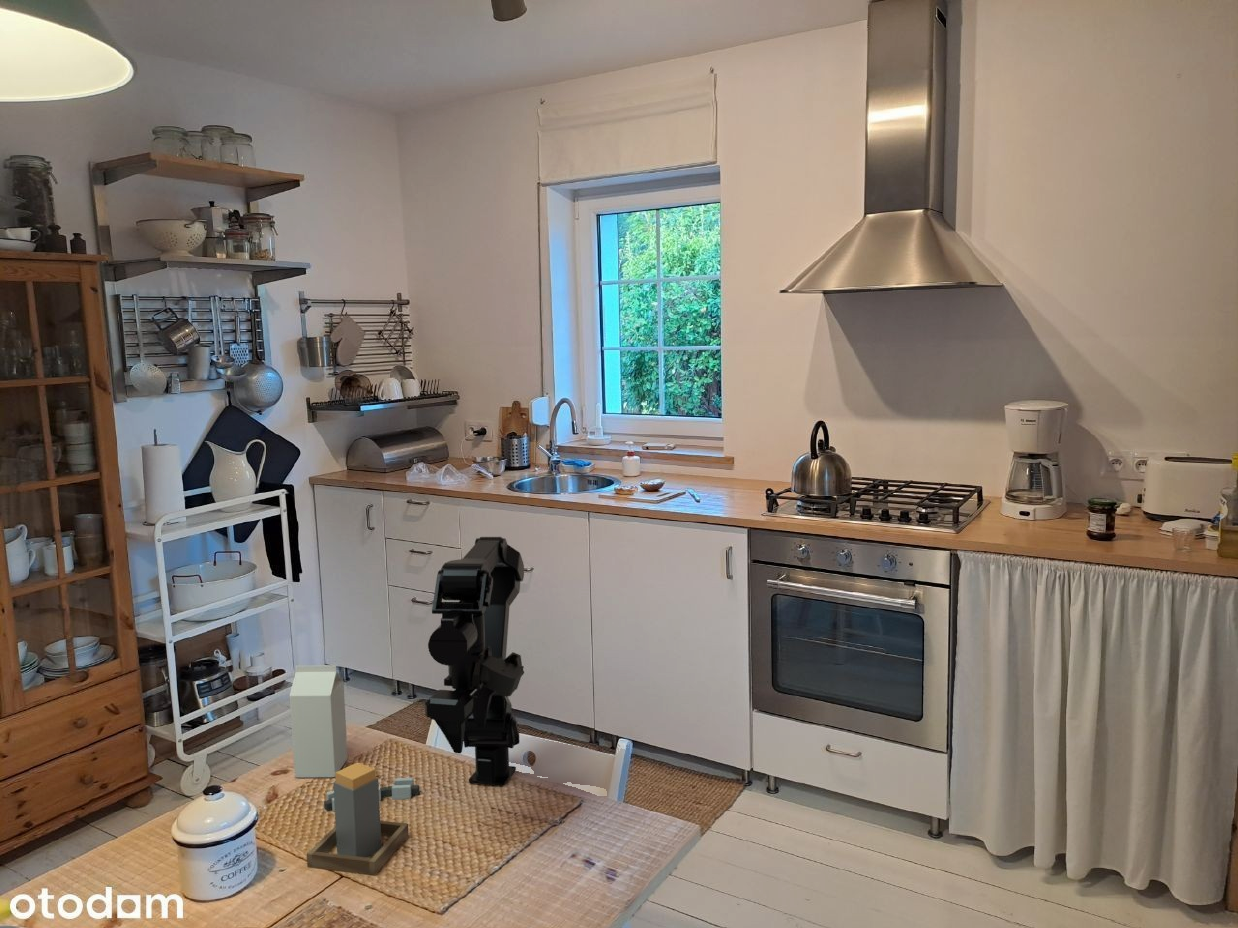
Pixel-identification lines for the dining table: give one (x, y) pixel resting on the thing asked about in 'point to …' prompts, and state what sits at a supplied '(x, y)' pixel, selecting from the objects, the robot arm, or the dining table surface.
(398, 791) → the grey jointed bar
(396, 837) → the brown flat square frame
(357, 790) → the grey box with lid
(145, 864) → the dining table surface
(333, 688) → the milk carton
